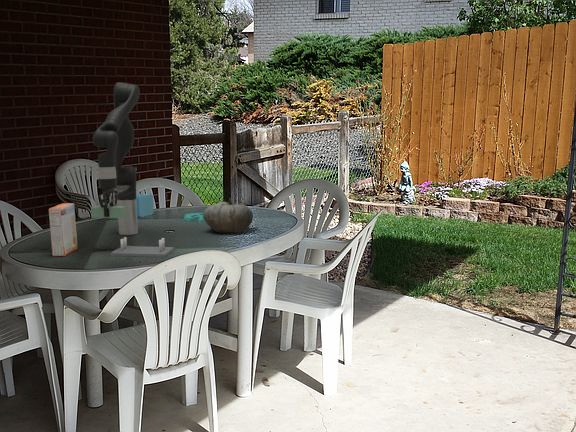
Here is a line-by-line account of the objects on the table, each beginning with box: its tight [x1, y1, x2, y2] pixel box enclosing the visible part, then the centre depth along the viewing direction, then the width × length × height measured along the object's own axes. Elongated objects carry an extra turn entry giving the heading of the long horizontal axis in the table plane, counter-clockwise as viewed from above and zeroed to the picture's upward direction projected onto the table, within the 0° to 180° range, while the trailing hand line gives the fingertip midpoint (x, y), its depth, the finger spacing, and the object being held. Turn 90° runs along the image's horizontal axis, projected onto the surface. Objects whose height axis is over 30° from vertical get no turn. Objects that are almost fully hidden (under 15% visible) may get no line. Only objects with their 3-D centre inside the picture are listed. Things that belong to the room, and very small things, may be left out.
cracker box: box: [48, 202, 78, 257], centre depth 295 cm, size 14×6×21 cm, turn 174°
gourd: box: [202, 197, 254, 234], centre depth 342 cm, size 25×25×17 cm
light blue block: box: [136, 193, 155, 218], centre depth 387 cm, size 12×4×12 cm, turn 152°
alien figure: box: [183, 212, 205, 224], centre depth 378 cm, size 20×2×20 cm
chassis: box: [109, 236, 175, 258], centre depth 295 cm, size 14×24×6 cm, turn 82°
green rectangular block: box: [90, 205, 126, 219], centre depth 298 cm, size 5×14×4 cm, turn 81°
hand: (109, 215), depth 298 cm, fingers closed on green rectangular block, 5 cm apart
